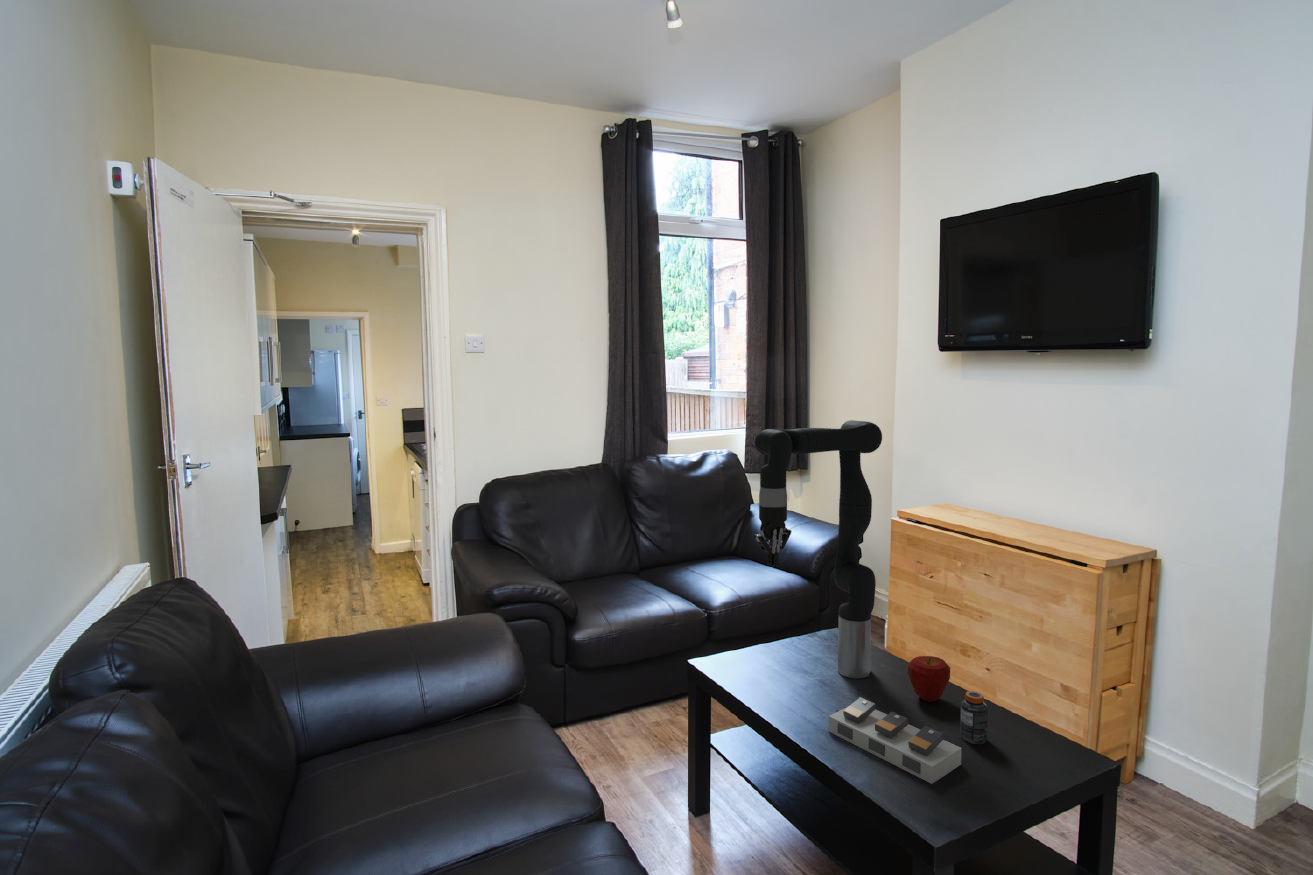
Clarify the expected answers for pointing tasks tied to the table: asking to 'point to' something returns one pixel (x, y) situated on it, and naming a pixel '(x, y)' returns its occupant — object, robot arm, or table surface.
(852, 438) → the robot arm
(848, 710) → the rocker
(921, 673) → the apple
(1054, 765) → the table surface
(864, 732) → the power strip
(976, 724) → the pill bottle
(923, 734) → the rocker
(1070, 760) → the table surface
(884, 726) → the block
